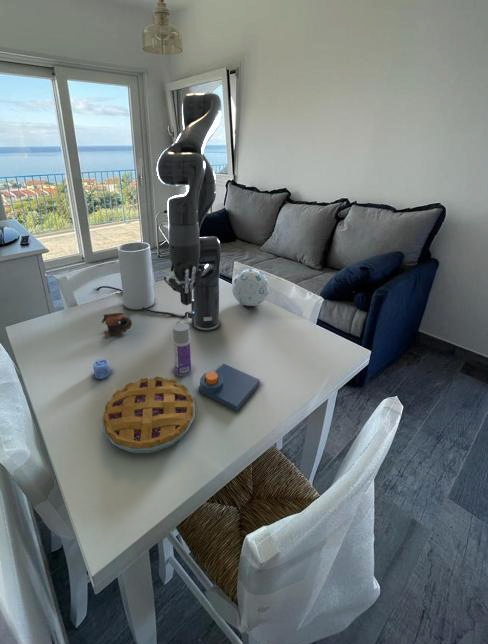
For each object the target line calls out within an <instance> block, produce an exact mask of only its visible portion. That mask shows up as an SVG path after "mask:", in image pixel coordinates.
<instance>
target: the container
mask: <svg viewBox="0 0 488 644" xmlns="http://www.w3.org/2000/svg"><path fill="white" fill-rule="evenodd" d="M172 339H173V341H172V342H173V343H172V345H173V359H174V373H175V375H177V376H180V377H185V376H187V375H189V374H191V372H192V360H191V359H192V358H191V357H192V356H191V338H190V325H189V324H188V323H186V322H178V323H175V324H174V325H173V326H172Z"/></svg>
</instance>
